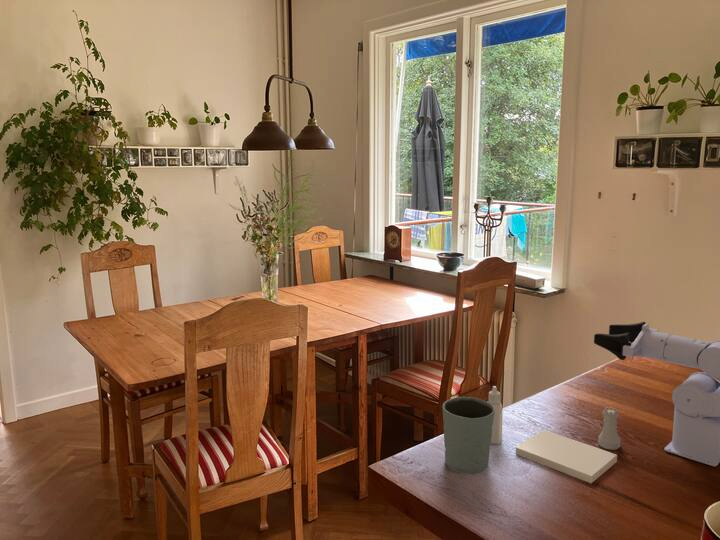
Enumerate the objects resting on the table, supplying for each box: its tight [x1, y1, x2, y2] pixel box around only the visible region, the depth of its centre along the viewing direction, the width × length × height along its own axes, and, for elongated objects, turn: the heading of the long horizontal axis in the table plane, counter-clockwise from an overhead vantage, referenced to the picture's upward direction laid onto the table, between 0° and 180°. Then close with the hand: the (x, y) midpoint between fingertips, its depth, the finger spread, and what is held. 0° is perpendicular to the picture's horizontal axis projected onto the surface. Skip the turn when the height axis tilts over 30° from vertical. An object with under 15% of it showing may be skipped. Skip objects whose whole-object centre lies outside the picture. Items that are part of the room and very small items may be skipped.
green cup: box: [441, 396, 495, 474], centre depth 116 cm, size 10×10×12 cm
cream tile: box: [515, 429, 618, 484], centre depth 118 cm, size 16×11×2 cm
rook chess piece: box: [597, 407, 622, 451], centre depth 121 cm, size 4×4×8 cm
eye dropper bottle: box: [488, 385, 503, 445], centre depth 125 cm, size 4×6×12 cm
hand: (602, 333), depth 129 cm, fingers open, 7 cm apart
